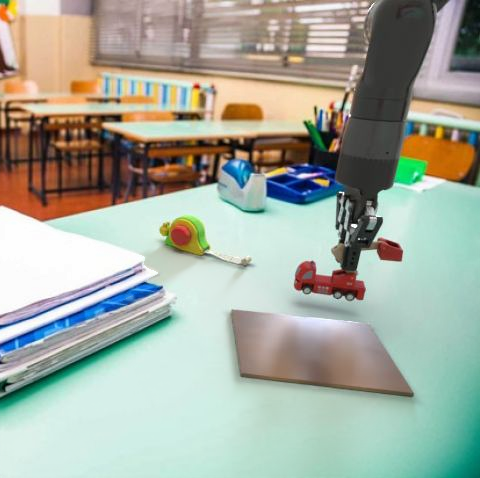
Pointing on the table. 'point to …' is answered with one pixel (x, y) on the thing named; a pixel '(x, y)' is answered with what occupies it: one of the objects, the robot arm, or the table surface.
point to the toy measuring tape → (193, 238)
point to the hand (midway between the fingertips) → (345, 265)
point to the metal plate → (315, 352)
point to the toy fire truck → (342, 273)
